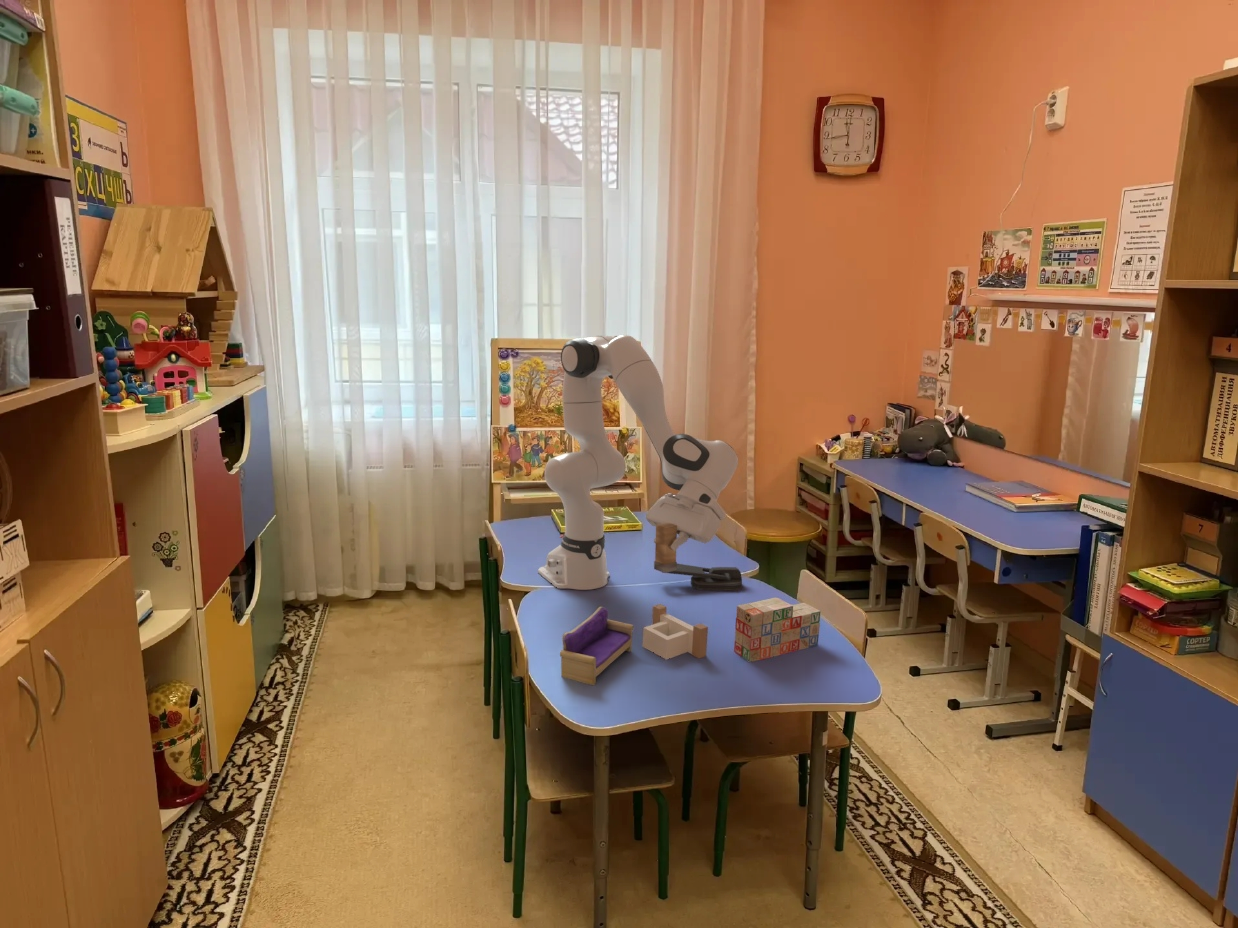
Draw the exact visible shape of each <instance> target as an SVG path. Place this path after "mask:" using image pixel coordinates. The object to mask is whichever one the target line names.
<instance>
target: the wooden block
mask: <svg viewBox="0 0 1238 928" xmlns="http://www.w3.org/2000/svg"><path fill="white" fill-rule="evenodd" d="M677 536H678V534H677V525H674V524H671V523H668V522H666V523H661V524H657V525H656V527H655V538H656V544H655V548H654V549H655V552H654V553H655V555H654V556H655V557H654V561H653V570H656V571H658V572H660V573H662V572H663V573H662V574H669V573H668V572H671V571H675V570H677V563H678V562H677V550H676V551H673V550H671V549H670V548H669V547H668V544H670V541H671V540H672V541H674V540H675V539H677V538H678V537H677Z"/></svg>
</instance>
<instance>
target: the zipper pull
mask: <svg viewBox="0 0 1238 928" xmlns="http://www.w3.org/2000/svg"><path fill="white" fill-rule="evenodd" d="M661 573H662V574H664V573H663V572H661ZM667 574H669V575H670V574H671V575H672V574H673V575H683V576H691V577H690V586H691V588H694V589H695V590H698V591H721V592H723V591H725V592H726V591H727V592H728V591H729V592H734V591H735V590H736V591H740V589H742V582H743V579H742V578H743V577H742V572H741V571H740V569H739V568H738V567H736V566H735V567H733V566H717V567H713V566H712V567H711V568H709V567H703V566H696V565H691V564H690V565H689V564H683V563H678V562H677V570H675V571H671V572H668V573H667Z"/></svg>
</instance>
